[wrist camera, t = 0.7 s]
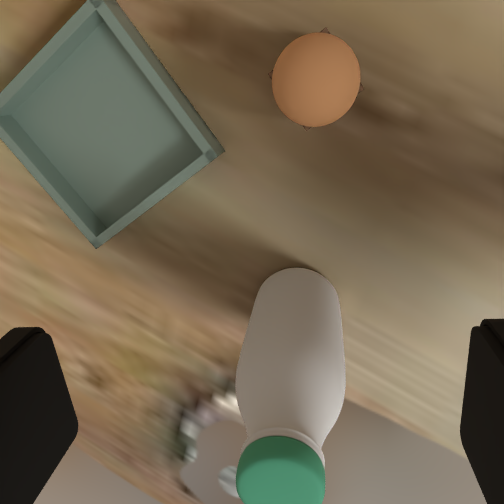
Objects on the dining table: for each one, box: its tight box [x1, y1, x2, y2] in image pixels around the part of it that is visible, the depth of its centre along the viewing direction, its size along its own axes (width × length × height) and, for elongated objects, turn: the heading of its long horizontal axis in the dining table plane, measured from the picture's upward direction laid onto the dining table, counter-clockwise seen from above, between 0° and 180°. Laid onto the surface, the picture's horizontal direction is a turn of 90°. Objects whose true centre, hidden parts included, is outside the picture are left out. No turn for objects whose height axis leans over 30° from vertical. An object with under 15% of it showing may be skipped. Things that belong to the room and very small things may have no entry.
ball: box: [272, 32, 360, 127], centre depth 24 cm, size 5×5×5 cm
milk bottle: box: [236, 268, 346, 504], centre depth 30 cm, size 8×8×20 cm
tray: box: [0, 0, 225, 249], centre depth 35 cm, size 14×14×3 cm
